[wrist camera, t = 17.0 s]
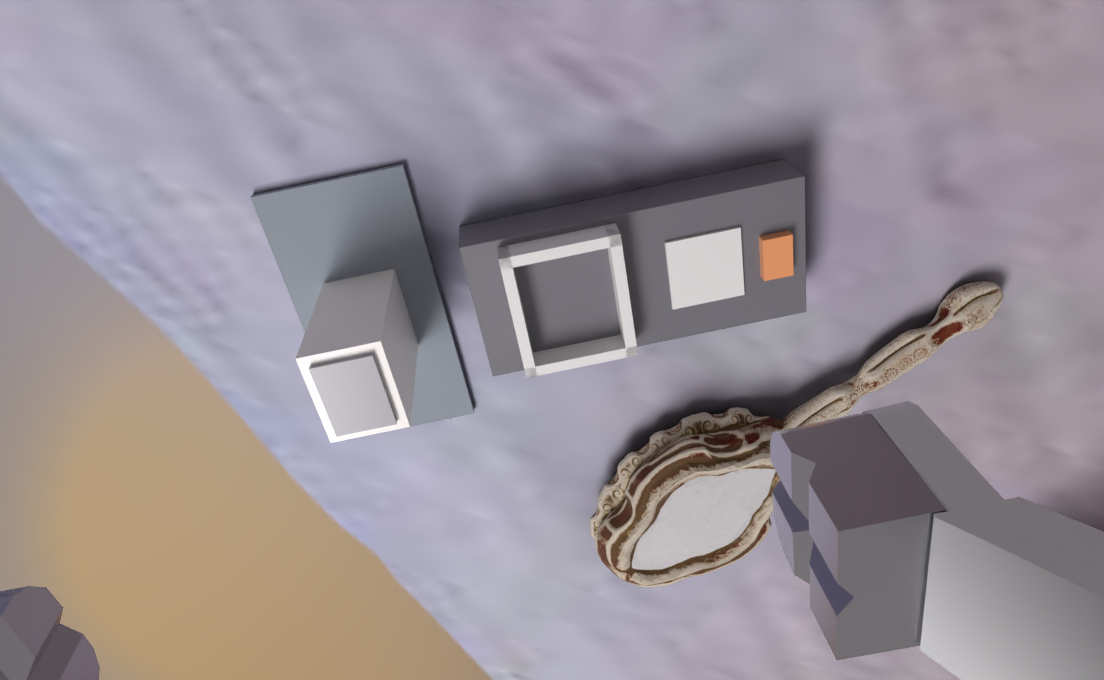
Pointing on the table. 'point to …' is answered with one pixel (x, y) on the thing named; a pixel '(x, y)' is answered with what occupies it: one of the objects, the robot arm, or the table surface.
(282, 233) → the slate mat
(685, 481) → the hand mirror
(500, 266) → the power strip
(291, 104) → the table surface
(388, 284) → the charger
